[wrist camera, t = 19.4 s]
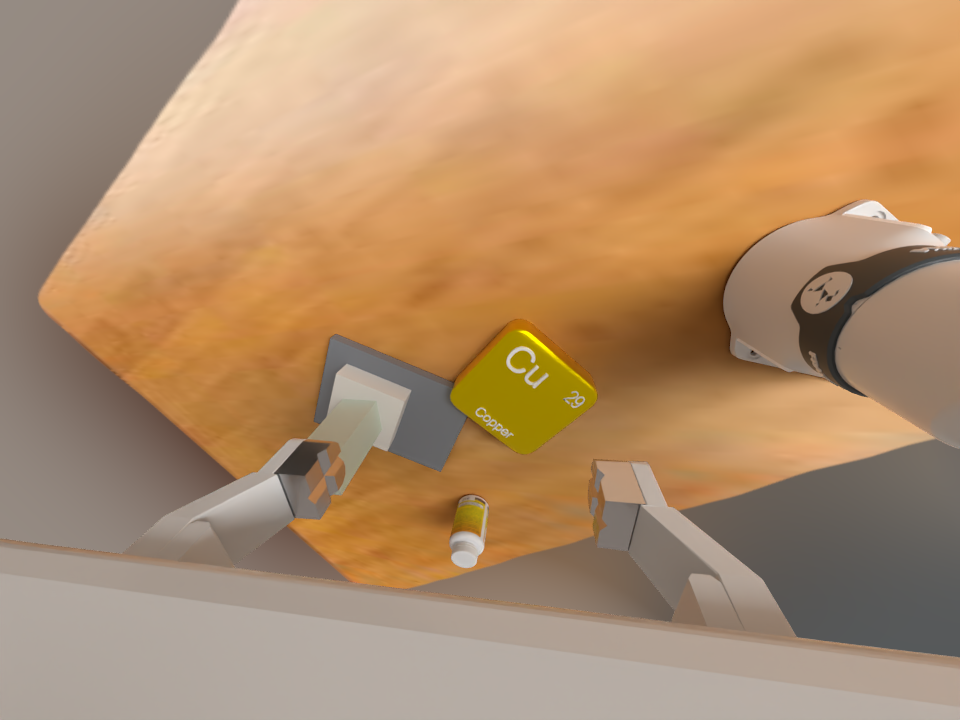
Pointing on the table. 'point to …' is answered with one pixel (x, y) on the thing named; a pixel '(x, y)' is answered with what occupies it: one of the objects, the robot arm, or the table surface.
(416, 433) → the slate board
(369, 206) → the table surface
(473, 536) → the supplement bottle
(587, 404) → the element tile
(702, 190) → the table surface
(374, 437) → the sage block
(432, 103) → the table surface
